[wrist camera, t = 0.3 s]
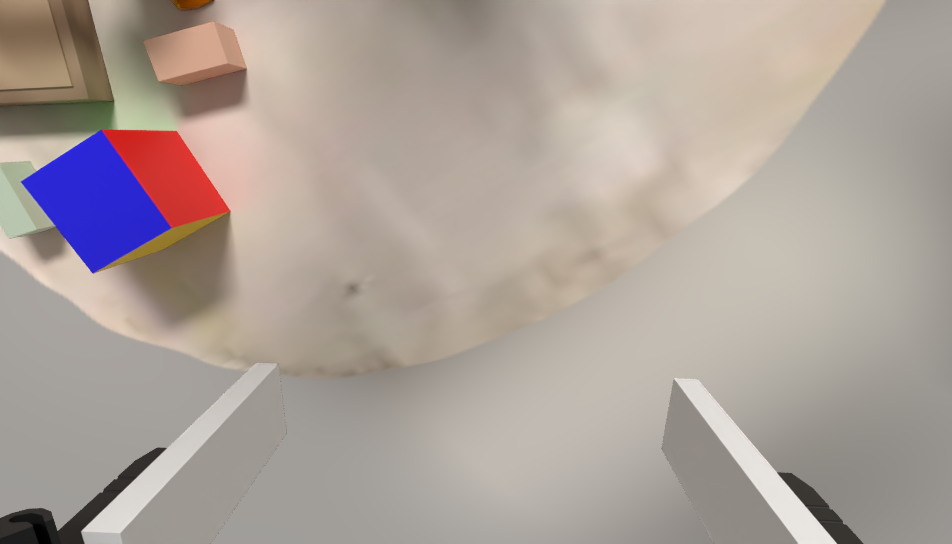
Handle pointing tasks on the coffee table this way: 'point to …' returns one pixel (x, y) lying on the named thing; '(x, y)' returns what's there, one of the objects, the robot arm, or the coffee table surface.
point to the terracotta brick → (195, 54)
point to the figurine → (190, 4)
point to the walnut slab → (50, 54)
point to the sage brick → (19, 202)
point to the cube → (125, 195)
